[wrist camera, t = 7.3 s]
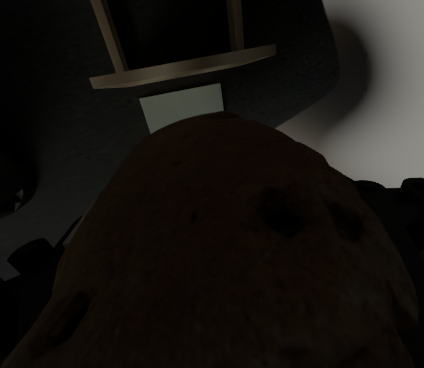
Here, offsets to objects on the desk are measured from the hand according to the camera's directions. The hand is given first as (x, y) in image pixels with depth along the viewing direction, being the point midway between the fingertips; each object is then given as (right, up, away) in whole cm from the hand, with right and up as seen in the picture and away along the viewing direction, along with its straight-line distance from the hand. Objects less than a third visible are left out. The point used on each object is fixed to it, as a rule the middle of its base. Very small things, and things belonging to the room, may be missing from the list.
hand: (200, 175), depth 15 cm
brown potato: (-1, +3, +6) cm, 7 cm away
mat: (-3, +8, +16) cm, 18 cm away
